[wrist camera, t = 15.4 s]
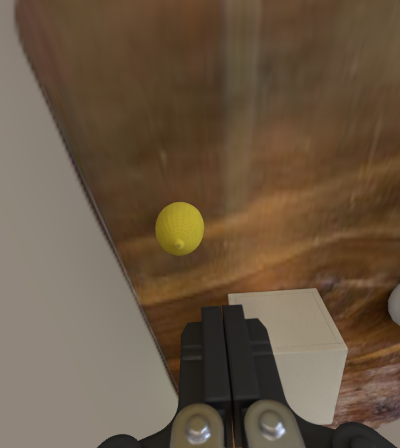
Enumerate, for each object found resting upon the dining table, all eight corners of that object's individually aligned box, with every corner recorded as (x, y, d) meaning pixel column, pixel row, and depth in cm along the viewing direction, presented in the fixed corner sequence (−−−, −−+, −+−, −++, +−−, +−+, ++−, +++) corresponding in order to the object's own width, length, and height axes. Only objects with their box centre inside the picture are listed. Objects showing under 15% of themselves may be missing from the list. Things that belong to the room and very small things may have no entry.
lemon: (196, 235, 41) (197, 272, 34) (155, 226, 40) (147, 262, 33) (208, 197, 39) (211, 229, 32) (164, 187, 38) (157, 217, 31)
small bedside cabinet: (306, 357, 52) (331, 424, 43) (230, 362, 53) (238, 429, 43) (315, 287, 46) (348, 349, 36) (227, 293, 46) (236, 356, 36)
